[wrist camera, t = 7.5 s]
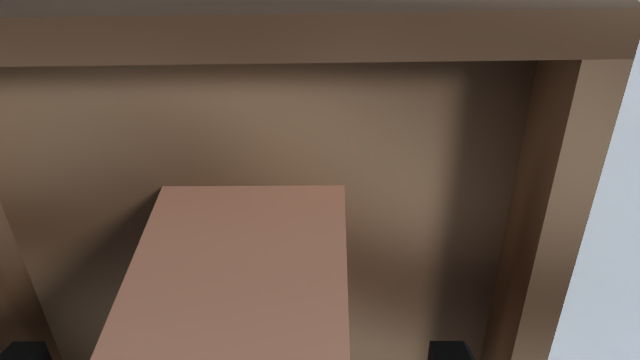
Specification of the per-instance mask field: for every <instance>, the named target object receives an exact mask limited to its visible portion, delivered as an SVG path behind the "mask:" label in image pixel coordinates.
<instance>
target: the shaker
mask: <svg viewBox="0 0 640 360" xmlns="http://www.w3.org/2000/svg"><path fill="white" fill-rule="evenodd" d="M90 360H350V341H349V310H348V279H347V248H346V217H345V186H344V185H309V186H162V188H161V191H160V193H159V196H158V198H157V200H156V203H155V205H154V208H153V210H152V212H151V215H150V217H149V220H148V222H147V224H146V227H145V229H144V232H143V234H142V236H141V239H140V241H139V244H138V246H137V248H136V251H135V253H134V256H133V258H132V260H131V263H130V265H129V268H128V270H127V272H126V275H125V277H124V280H123V282H122V284H121V287H120V289H119V292H118V294H117V296H116V299H115V301H114V304H113V306H112V308H111V311H110V313H109V316H108V318H107V320H106V323H105V325H104V328H103V330H102V332H101V335H100V337H99V340H98V342H97V344H96V347H95V349H94V352H93V354H92V356H91V359H90Z"/></svg>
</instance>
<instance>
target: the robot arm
mask: <svg viewBox="0 0 640 360" xmlns="http://www.w3.org/2000/svg"><path fill="white" fill-rule="evenodd" d="M0 360H52V358H51V355H50V353H49V350H48V348H47V345H46V343H45V341H13V342H12V343H11V344H10V345H9V346H8V347H7V348H6V349H5V350H3V351H2V352H1V353H0ZM427 360H475V359H474V357H473V355H472V353H471V351H470V348H469V346H468V345H467V344H466V343H465V342H464V341H430V343H429V351H428V359H427Z"/></svg>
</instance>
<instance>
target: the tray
mask: <svg viewBox="0 0 640 360" xmlns="http://www.w3.org/2000/svg"><path fill="white" fill-rule="evenodd" d="M639 40H640V2H639V1H638V0H0V353H1V352H2V351H3V350H5V349H6V348H7V347H8V346H9V345H10V344H11V343H12V342H13V341H45V343H46V345H47V348H48V350H49V353H50V355H51V358H52V360H90V359H91V356H92V354H93V352H94V349H95V347H96V344H97V342H98V340H99V337H100V335H101V332H102V330H103V328H104V325H105V323H106V320H107V318H108V316H109V313H110V311H111V308H112V306H113V304H114V301H115V299H116V296H117V294H118V292H119V289H120V287H121V284H122V282H123V280H124V277H125V275H126V272H127V270H128V268H129V265H130V263H131V260H132V258H133V256H134V253H135V251H136V248H137V246H138V244H139V241H140V239H141V236H142V234H143V232H144V229H145V227H146V224H147V222H148V220H149V217H150V215H151V212H152V210H153V208H154V205H155V203H156V200H157V198H158V196H159V193H160V191H161V188H162V186H309V185H344V186H345V217H346V248H347V279H348V310H349V341H350V360H427V359H428V351H429V343H430V341H464V342H465V343H466V344H467V345H468V346H469V348H470V351H471V353H472V355H473V357H474V359H475V360H547V359H548V356H549V352H550V349H551V345H552V342H553V339H554V335H555V332H556V328H557V325H558V321H559V318H560V314H561V311H562V307H563V304H564V300H565V297H566V293H567V290H568V286H569V283H570V280H571V276H572V273H573V269H574V266H575V262H576V259H577V255H578V252H579V248H580V245H581V241H582V238H583V234H584V231H585V227H586V224H587V221H588V217H589V214H590V210H591V207H592V203H593V200H594V196H595V193H596V189H597V186H598V182H599V179H600V175H601V172H602V168H603V165H604V162H605V158H606V155H607V151H608V148H609V144H610V141H611V137H612V134H613V130H614V127H615V123H616V120H617V116H618V113H619V109H620V106H621V103H622V99H623V96H624V92H625V89H626V85H627V82H628V78H629V75H630V71H631V68H632V64H633V61H634V57H635V54H636V50H637V47H638V44H639Z"/></svg>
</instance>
